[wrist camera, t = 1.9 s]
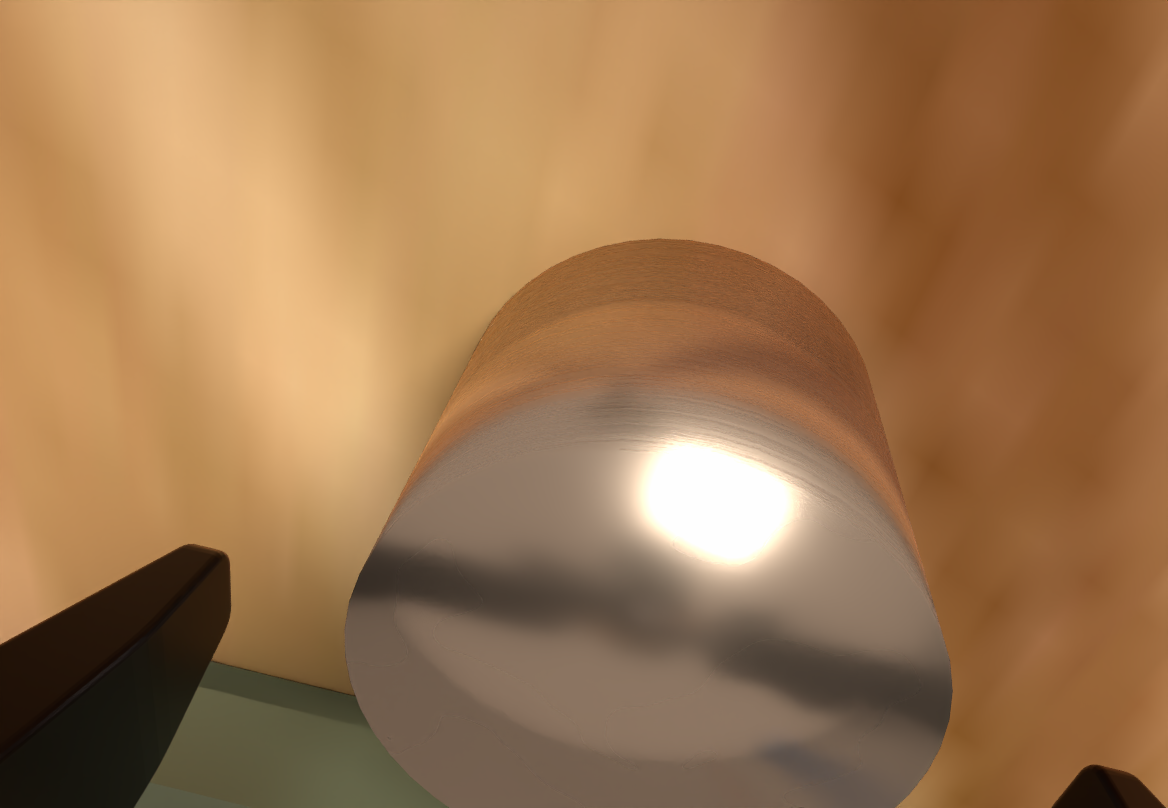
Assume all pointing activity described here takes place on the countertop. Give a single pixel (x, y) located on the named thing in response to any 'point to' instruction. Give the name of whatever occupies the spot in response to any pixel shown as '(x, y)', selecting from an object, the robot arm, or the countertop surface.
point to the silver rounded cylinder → (655, 557)
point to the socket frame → (277, 750)
